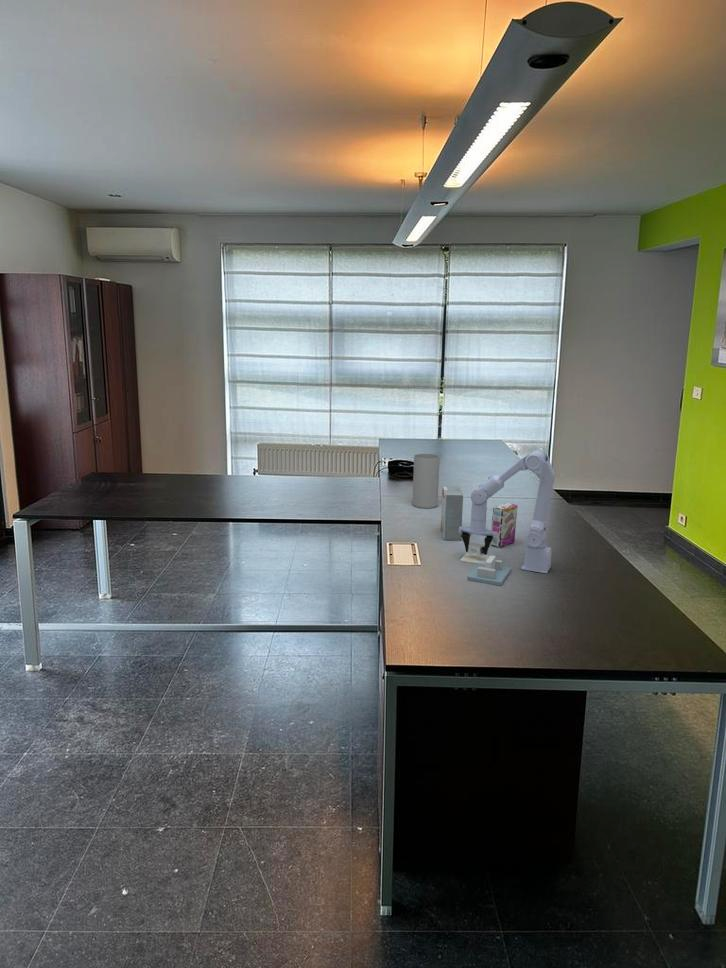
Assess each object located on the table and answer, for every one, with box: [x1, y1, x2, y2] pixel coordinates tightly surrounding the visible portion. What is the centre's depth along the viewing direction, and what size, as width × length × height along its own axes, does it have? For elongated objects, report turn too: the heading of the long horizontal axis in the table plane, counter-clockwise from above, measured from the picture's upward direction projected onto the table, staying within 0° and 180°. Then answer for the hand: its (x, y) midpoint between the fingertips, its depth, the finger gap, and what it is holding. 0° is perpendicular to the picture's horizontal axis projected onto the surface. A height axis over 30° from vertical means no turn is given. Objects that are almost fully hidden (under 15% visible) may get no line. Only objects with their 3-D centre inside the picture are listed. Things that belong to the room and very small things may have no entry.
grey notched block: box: [466, 541, 485, 557], centre depth 260 cm, size 6×4×4 cm
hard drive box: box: [440, 485, 464, 541], centre depth 288 cm, size 16×8×20 cm, turn 178°
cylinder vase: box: [412, 453, 441, 509], centre depth 334 cm, size 12×12×25 cm
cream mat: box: [459, 552, 491, 565], centre depth 260 cm, size 10×10×1 cm
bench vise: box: [466, 555, 512, 587], centre depth 243 cm, size 12×16×6 cm
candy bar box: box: [490, 502, 518, 549], centre depth 277 cm, size 11×5×16 cm, turn 134°
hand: (476, 552), depth 260 cm, fingers closed on grey notched block, 7 cm apart
